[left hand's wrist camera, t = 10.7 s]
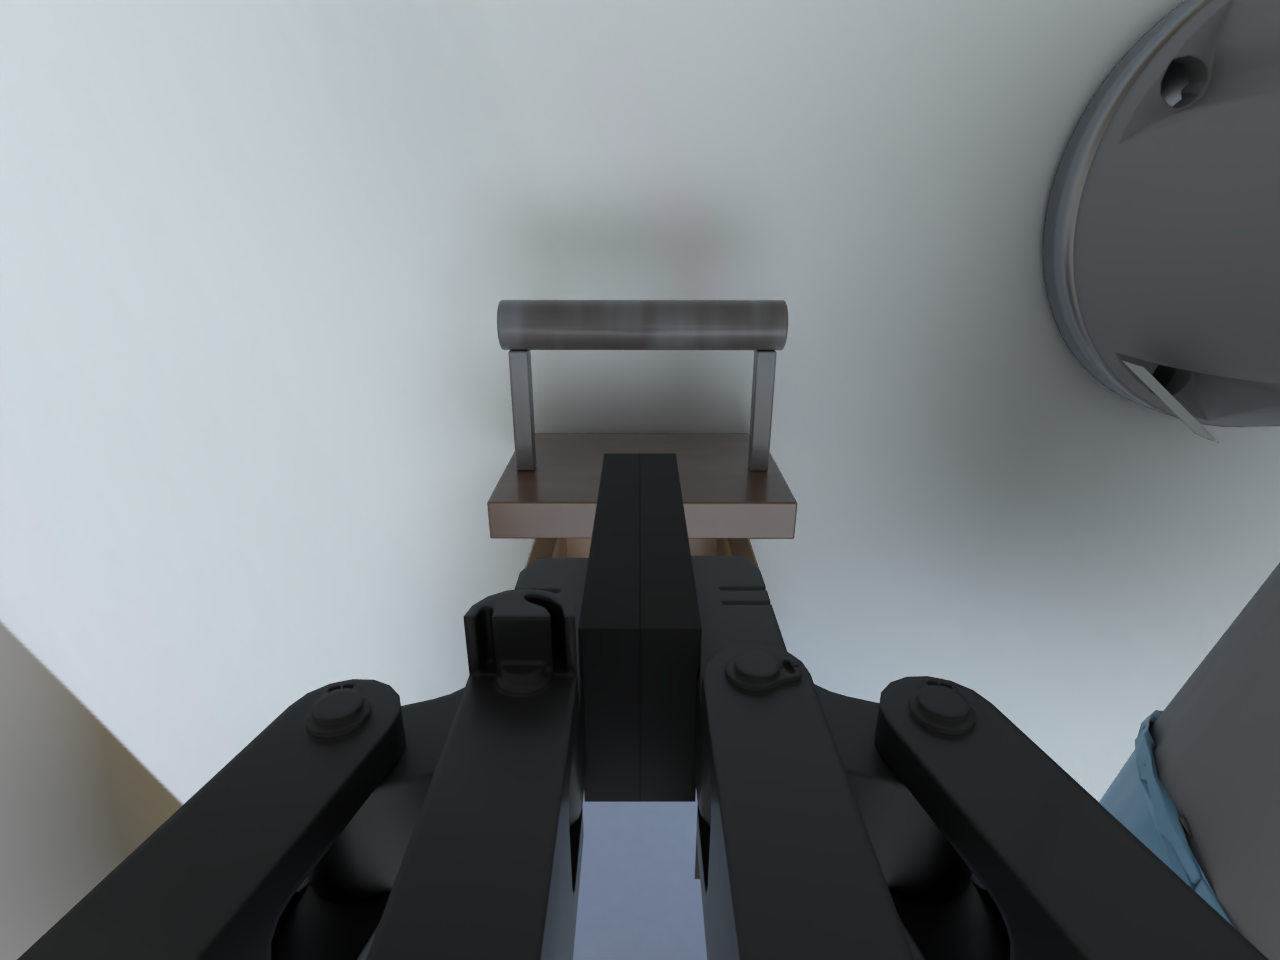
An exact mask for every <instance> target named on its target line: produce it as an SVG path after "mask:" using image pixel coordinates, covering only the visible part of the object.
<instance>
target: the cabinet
mask: <svg viewBox="0 0 1280 960" xmlns="http://www.w3.org/2000/svg"><path fill="white" fill-rule="evenodd" d="M697 805H698V803H697V792H696V799H695V802H585V799H584V796H583V831H584V838H583V849H582V861H581V872H580V884H579V895H578V907H577V918H576V930H575V941H574V953H573V960H707V952H706V940H705V929H704V917H703V906H702V895H701V883H700V879H695V856H696V831H697Z"/></svg>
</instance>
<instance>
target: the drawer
mask: <svg viewBox="0 0 1280 960" xmlns="http://www.w3.org/2000/svg"><path fill="white" fill-rule="evenodd" d="M497 330H498V338H499V343H500V346H501V348H502V349H503V350H510V351H509V366H510V381H511V396H512V411H513V425H514V440H515V452H514V454H513V456H512V458H511V459H510V461H509V463H508V465H507V467H506V469H505V471H504V473H503V474H502V476H501V478H500V480H499V482H498V484H497V486H496V488H495V489H494V491H493V493H492V495H491V497H490V499H489V501H488V503H487V504H488V516H489V528H490V537H491V538H535V540H534V543H533V546H532V549H531V552H530V555H529V558H528V561H527V564H526V567H527V566H528V565H530V564H531V563H532V562H533V561H534V560H535V559H536V558H589V553H590V546H591V539H592V532H593V526H594V519H595V512H596V505H597V499H598V492H599V485H600V479H601V472H602V465H603V458H604V453H676V458H677V465H678V472H679V479H680V485H681V492H682V499H683V505H684V512H685V519H686V526H687V532H688V539H689V546H690V553H691V556H744V557H745V558H746V559H747V560H749V561H750V562H751V563H752V564H753V565H754V566H756V567H757V568H758V569H759V567H758V564H757V561H756V558H755V555H754V552H753V549H752V546H751V543H750V540H749V539H793V538H794V534H795V523H796V512H797V502H796V500H795V498H794V496H793V494H792V493H791V491H790V489H789V487H788V485H787V483H786V481H785V480H784V478H783V476H782V474H781V472H780V470H779V468H778V467H777V465H776V463H775V461H774V459H773V457H772V455H771V454H770V452H769V449H770V435H771V421H772V407H773V393H774V379H775V365H776V351H775V350H782V349H783V348H784V346H785V343H786V338H787V331H788V311H787V305H786V302H785V301H783V300H501V301H500V302H499V305H498V311H497ZM530 350H755V351H754V368H753V384H752V401H751V418H750V433H535V426H534V408H533V390H532V373H531V355H530ZM526 567H525V568H526Z"/></svg>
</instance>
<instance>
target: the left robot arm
mask: <svg viewBox="0 0 1280 960" xmlns="http://www.w3.org/2000/svg"><path fill="white" fill-rule="evenodd" d="M1043 263H1044V277H1045V283H1046V289H1047V294H1048V299H1049V302H1050V306H1051V309H1052V313H1053V316H1054V318H1055V321H1056V323H1057V325H1058V328H1059V330H1060V333H1061V334H1062V336H1063V338H1064V340H1065V341H1066V343H1067V345H1068V347H1069V348H1070V350H1071V351H1072V352H1073V354H1074V355H1075V356H1076V358H1077V359H1078V360H1079V362H1080V363H1081V364H1082V365H1083V366H1084V367H1085V368H1086V369H1087V370H1088V371H1089V372H1090V373H1091V375H1093V376H1094V377H1095V378H1096V379H1098V380H1099V381H1100V382H1101V383H1102V384H1104V385H1105V386H1106V387H1108V388H1110V389H1111V390H1113V391H1114V392H1116V393H1118V394H1119V395H1121V396H1123V397H1125V398H1127V399H1130V400H1132V401H1134V402H1136V403H1139V404H1141V405H1144V406H1146V407H1149V408H1152V409H1154V410H1157V411H1160V412H1162V413H1165V414H1168V415H1170V416H1173V417H1176V418H1179V419H1181V420H1182V421H1183V422H1184V423H1185V424H1186V425H1187V426H1188V427H1189V428H1190V429H1191V430H1192V431H1193V432H1194V433H1195V434H1197V435H1200V436H1202V437H1205V438H1207V439H1210V440H1212V441H1215V442H1217V443H1219V442H1218V441H1217V440H1216V439H1215V438H1214V437H1213V436H1212V435H1211V434H1210V433H1209V432H1208V431H1207V430H1206V429H1205V428H1204V427H1203V426H1202V425H1201V424H1204V425H1213V426H1221V427H1251V426H1280V0H1186V1H1185V2H1183V3H1182V4H1181V5H1179V6H1178V7H1177V8H1175V9H1174V10H1173V11H1171V12H1170V13H1169V14H1168V15H1166V16H1165V17H1164V18H1163V19H1162V20H1161V21H1159V22H1158V23H1157V24H1156V25H1155V26H1154V27H1153V28H1152V29H1151V30H1149V31H1148V32H1147V33H1146V34H1145V35H1144V36H1143V37H1142V38H1141V39H1140V40H1139V41H1138V42H1137V43H1136V44H1135V45H1134V46H1133V47H1132V49H1131V50H1130V51H1129V52H1128V53H1127V54H1126V55H1125V56H1124V57H1123V58H1122V60H1121V61H1120V62H1119V63H1118V65H1117V66H1116V67H1115V68H1114V69H1113V71H1112V72H1111V73H1110V74H1109V75H1108V77H1107V78H1106V80H1105V81H1104V83H1103V84H1102V85H1101V87H1100V88H1099V90H1098V91H1097V93H1096V94H1095V95H1094V97H1093V98H1092V100H1091V102H1090V103H1089V105H1088V107H1087V108H1086V110H1085V112H1084V113H1083V115H1082V117H1081V118H1080V120H1079V122H1078V124H1077V126H1076V128H1075V130H1074V132H1073V134H1072V136H1071V138H1070V140H1069V142H1068V144H1067V147H1066V149H1065V152H1064V154H1063V157H1062V160H1061V162H1060V165H1059V167H1058V170H1057V174H1056V177H1055V180H1054V183H1053V187H1052V190H1051V194H1050V199H1049V204H1048V208H1047V213H1046V221H1045V229H1044V243H1043ZM464 626H465V635H466V645H467V654H468V663H469V673H470V676H469V678H468V681H467V684H466V687H465V688H463V689H461V690H458V691H456V692H454V693H452V694H450V695H446V696H443V697H439V698H436V699H432V700H428V701H423V702H418V703H414V704H409V705H404V706H401V704H400V697H399V695H398V694H397V693H396V692H395V691H394V689H393V688H392V687H391V686H390V685H387V684H384V683H381V682H378V681H376V680H361V679H352V680H347V681H342V682H337V683H332V684H329V685H326V686H324V687H321V688H319V689H317V690H314V691H312V692H310V693H307V694H306V695H305V696H303V697H302V698H300V699H299V700H298V701H296V702H295V703H293V704H292V705H291V706H289V707H288V708H287V709H286V710H285V711H284V712H283V713H282V714H281V715H280V716H278V717H277V718H276V719H275V720H274V721H273V722H272V723H271V724H270V725H269V726H268V727H267V728H266V729H265V730H263V731H262V732H261V733H260V734H259V735H258V736H257V737H256V738H255V739H254V740H253V741H252V742H251V743H249V744H248V745H247V746H246V747H245V748H244V749H243V750H242V751H241V752H240V753H239V754H238V755H237V756H236V757H234V758H233V759H232V760H231V761H230V762H229V763H228V764H227V765H226V766H225V767H224V768H223V769H222V770H220V771H219V772H218V773H217V774H216V775H215V776H214V777H213V778H212V779H211V780H210V781H209V782H208V783H207V784H205V785H204V786H203V787H202V788H201V789H200V790H199V791H198V792H197V793H196V794H195V795H194V796H193V797H191V798H190V799H189V800H188V801H187V802H186V803H185V804H184V805H183V806H182V807H181V808H180V809H179V810H178V811H176V812H175V813H174V814H173V815H172V816H171V817H170V818H169V819H168V820H167V821H166V822H165V823H164V824H162V825H161V826H160V827H159V828H158V829H157V830H156V831H155V832H154V833H153V834H152V835H151V836H150V837H149V838H147V839H146V840H145V841H144V842H143V843H142V844H141V845H140V846H139V847H138V848H137V849H136V850H135V851H133V852H132V853H131V854H130V855H129V856H128V857H127V858H126V859H125V860H124V861H123V862H122V863H121V864H119V865H118V866H117V867H116V868H115V869H114V870H113V871H112V872H111V873H110V874H109V875H108V876H107V877H106V878H104V879H103V880H102V881H101V882H100V883H99V884H98V885H97V886H96V887H95V888H94V889H93V890H92V891H91V892H89V893H88V894H87V895H86V896H85V897H84V898H83V899H82V900H81V901H80V902H79V903H78V904H77V905H75V906H74V907H73V908H72V909H71V910H70V911H69V912H68V913H67V914H66V915H65V916H64V917H63V918H61V919H60V920H59V921H58V922H57V923H56V924H55V925H54V926H53V927H52V928H51V929H50V930H49V931H48V932H47V933H45V934H44V935H43V936H42V937H41V938H40V939H39V940H38V941H37V942H36V943H35V944H34V945H32V946H31V947H30V948H29V949H28V950H27V951H26V952H25V953H24V954H23V955H22V956H21V957H20V958H19V959H17V960H573V953H574V941H575V930H576V918H577V907H578V895H579V884H580V872H581V861H582V849H583V838H584V831H583V796H584V799H585V802H695V799H696V792H697V803H698V805H697V831H696V856H695V879H700V883H701V895H702V906H703V917H704V929H705V940H706V952H707V960H1280V563H1279V564H1278V566H1277V567H1276V568H1275V569H1274V571H1273V572H1272V573H1271V575H1270V576H1269V577H1268V578H1267V580H1266V581H1265V582H1264V584H1263V585H1262V586H1261V587H1260V589H1259V590H1258V591H1257V592H1256V594H1255V595H1254V596H1253V598H1252V599H1251V600H1250V601H1249V603H1248V604H1247V605H1246V606H1245V608H1244V609H1243V610H1242V612H1241V613H1240V614H1239V615H1238V617H1237V618H1236V619H1235V621H1234V622H1233V623H1232V624H1231V626H1230V627H1229V628H1228V629H1227V631H1226V632H1225V633H1224V635H1223V636H1222V637H1221V638H1220V640H1219V641H1218V642H1217V644H1216V645H1215V646H1214V647H1213V649H1212V650H1211V651H1210V652H1209V654H1208V655H1207V656H1206V658H1205V659H1204V660H1203V661H1202V663H1201V664H1200V665H1199V666H1198V668H1197V669H1196V670H1195V672H1194V673H1193V674H1192V675H1191V677H1190V678H1189V679H1188V681H1187V682H1186V683H1185V684H1184V686H1183V687H1182V688H1181V689H1180V691H1179V692H1178V693H1177V695H1176V696H1175V697H1174V698H1173V700H1172V701H1171V702H1170V703H1169V705H1168V706H1167V707H1166V709H1165V710H1164V711H1158V710H1156V711H1154V712H1153V713H1152V714H1151V715H1150V716H1149V717H1147V718H1146V719H1145V720H1144V721H1143V722H1142V723H1141V727H1140V730H1139V733H1138V737H1137V738H1136V739H1135V750H1134V752H1133V753H1132V755H1131V756H1130V758H1129V759H1128V761H1127V762H1126V764H1125V765H1124V766H1123V768H1122V769H1121V771H1120V772H1119V774H1118V775H1117V777H1116V778H1115V780H1114V781H1113V783H1112V784H1111V786H1110V787H1109V789H1108V790H1107V791H1106V793H1105V794H1104V796H1103V797H1102V799H1101V800H1100V802H1098V801H1097V800H1096V799H1094V798H1093V797H1092V796H1091V795H1090V794H1089V793H1088V792H1087V791H1086V790H1085V789H1084V788H1083V787H1081V786H1080V785H1079V784H1078V783H1077V782H1076V781H1075V780H1074V779H1073V778H1072V777H1071V776H1070V775H1068V774H1067V773H1066V772H1065V771H1064V770H1063V769H1062V768H1061V767H1060V766H1059V765H1058V764H1057V763H1055V762H1054V761H1053V760H1052V759H1051V758H1050V757H1049V756H1048V755H1047V754H1046V753H1045V752H1044V751H1042V750H1041V749H1040V748H1039V747H1038V746H1037V745H1036V744H1035V743H1034V742H1033V741H1032V740H1031V739H1029V738H1028V737H1027V736H1026V735H1025V734H1024V733H1023V732H1022V731H1021V730H1020V729H1019V728H1018V727H1017V726H1015V725H1014V724H1013V723H1012V722H1011V721H1010V720H1009V719H1008V718H1007V717H1006V716H1005V715H1004V714H1002V713H1001V712H1000V711H999V710H998V709H997V708H996V707H995V706H994V705H993V704H992V703H990V702H989V701H987V700H986V699H985V698H983V697H982V696H980V695H979V694H978V693H976V692H975V691H973V690H971V689H969V688H966V687H964V686H962V685H959V684H957V683H954V682H952V681H949V680H944V679H939V678H934V677H929V676H920V677H905V678H902V679H899V680H896V681H893V682H891V683H890V684H889V685H888V686H887V687H886V688H885V689H884V690H883V691H882V692H881V697H880V703H875V702H870V701H866V700H861V699H857V698H852V697H847V696H844V695H840V694H837V693H833V692H830V691H828V690H826V689H824V688H821V687H819V686H817V685H815V684H814V683H813V680H812V677H811V675H810V673H809V672H808V670H807V669H806V667H805V666H804V664H803V663H802V662H801V661H800V660H799V659H797V658H796V657H794V656H793V655H791V654H790V653H788V652H787V650H786V647H785V644H784V641H783V638H782V635H781V632H780V629H779V626H778V623H777V620H776V617H775V614H774V611H773V608H772V605H770V599H769V596H768V593H767V590H766V589H765V584H764V581H763V578H762V575H761V572H760V570H759V569H758V568H757V567H756V566H754V565H753V564H752V563H751V562H750V561H749V560H747V559H746V558H745V557H744V556H691V553H690V546H689V539H688V532H687V526H686V519H685V512H684V505H683V499H682V492H681V485H680V479H679V472H678V465H677V458H676V453H604V458H603V465H602V472H601V479H600V485H599V492H598V499H597V505H596V512H595V519H594V526H593V532H592V539H591V546H590V553H589V558H536V559H535V560H534V561H533V562H532V563H531V564H530V565H528V566H527V567H526V568H525V569H524V570H523V571H521V572H520V575H519V578H518V581H517V584H516V587H515V590H509V591H504V592H501V593H498V594H495V595H491V596H488V597H486V598H485V599H483V600H481V601H480V602H478V603H476V604H475V605H473V606H472V607H471V608H470V610H469V611H468V612H467V613H466V615H465V616H464Z"/></svg>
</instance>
